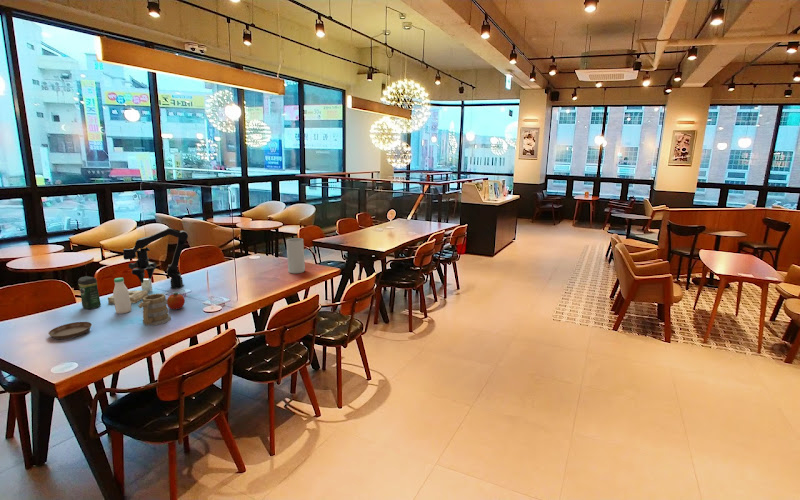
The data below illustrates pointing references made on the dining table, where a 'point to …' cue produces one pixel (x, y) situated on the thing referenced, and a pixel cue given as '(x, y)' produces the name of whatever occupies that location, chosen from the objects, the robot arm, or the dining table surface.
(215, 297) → the dining table surface
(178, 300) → the fruit
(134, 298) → the well block
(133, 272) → the robot arm
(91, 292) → the coffee jar
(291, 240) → the cylinder vase
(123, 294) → the milk bottle
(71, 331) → the plant saucer
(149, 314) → the tankard
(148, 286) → the tall grey box
